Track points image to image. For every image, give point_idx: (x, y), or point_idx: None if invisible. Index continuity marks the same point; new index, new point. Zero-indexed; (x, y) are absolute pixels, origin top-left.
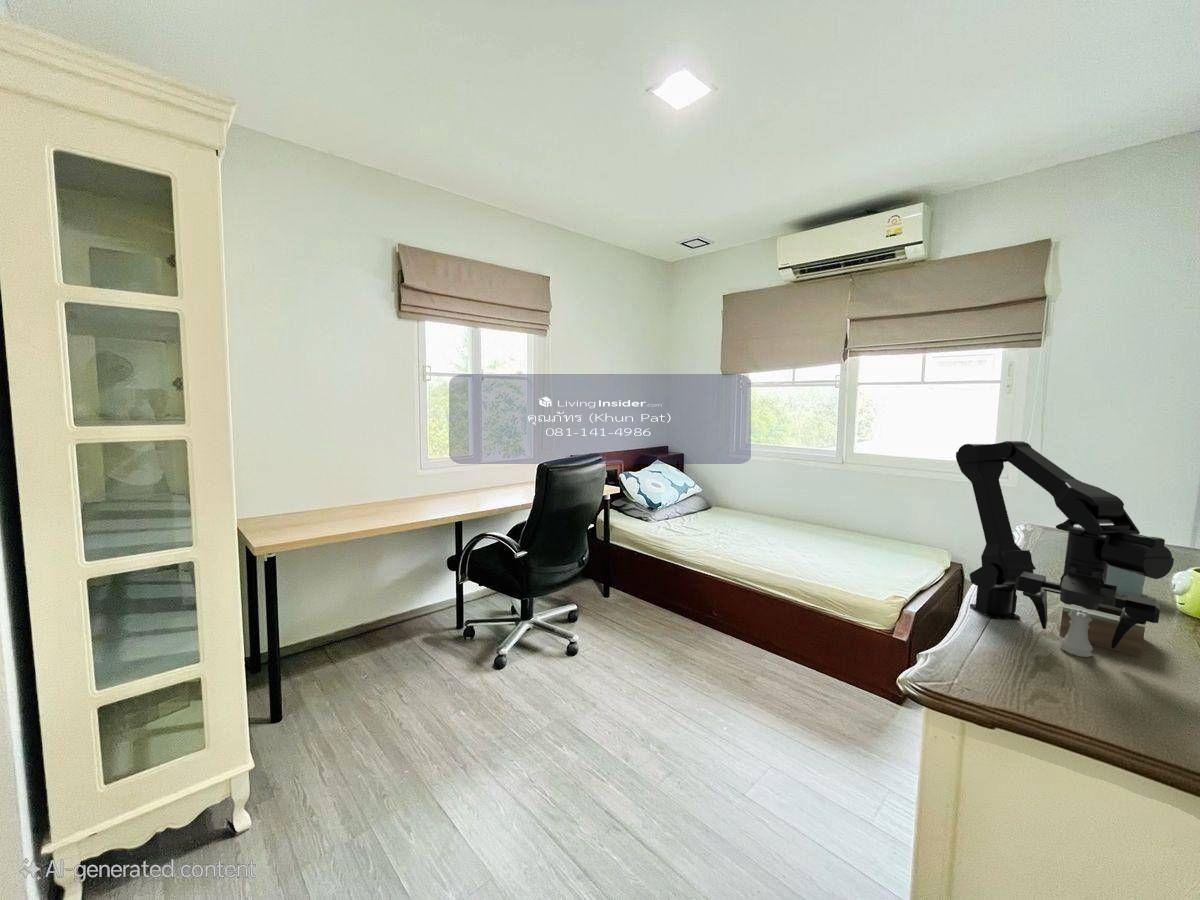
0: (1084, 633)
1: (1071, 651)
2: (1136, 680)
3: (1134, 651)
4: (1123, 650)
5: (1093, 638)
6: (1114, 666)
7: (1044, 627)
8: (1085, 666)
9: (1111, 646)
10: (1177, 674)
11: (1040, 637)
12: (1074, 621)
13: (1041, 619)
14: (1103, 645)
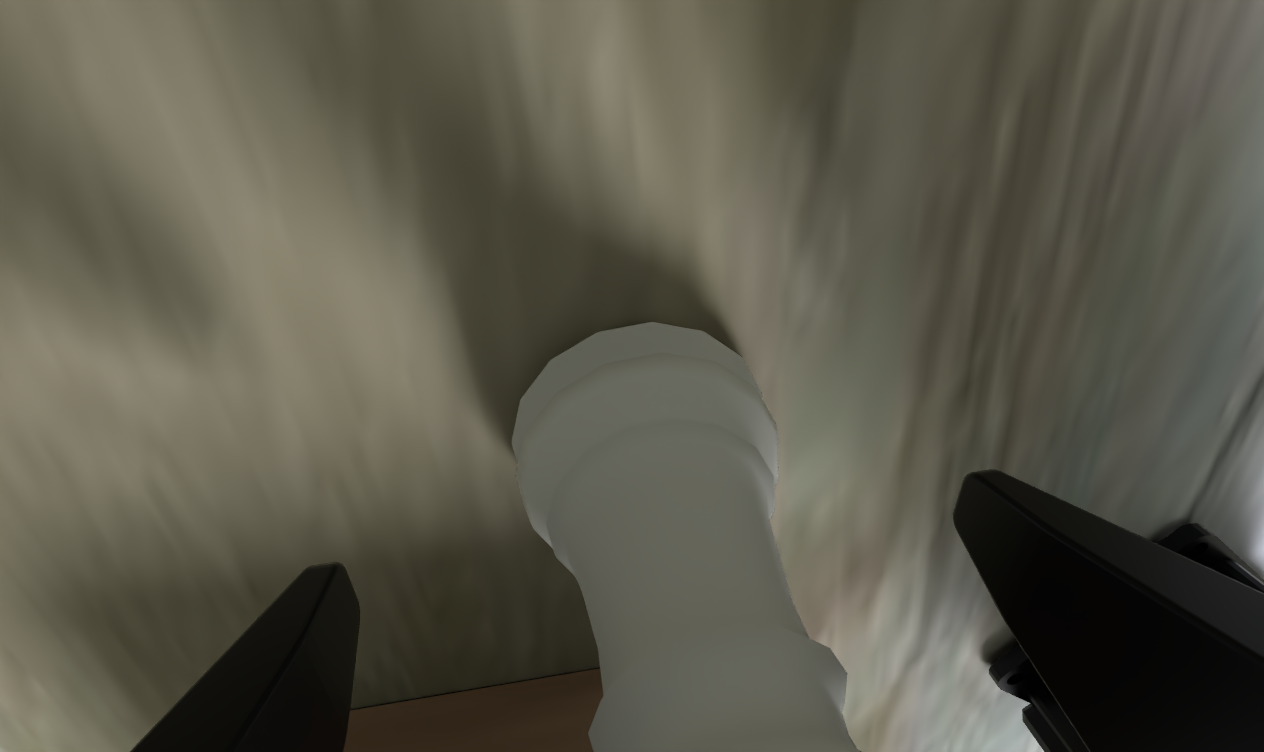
0: (621, 586)
1: (667, 336)
2: (15, 176)
3: None
4: (393, 720)
5: (576, 720)
6: (321, 384)
7: (995, 481)
8: (491, 79)
9: (329, 571)
10: (3, 659)
11: (886, 481)
12: (810, 716)
13: (1125, 544)
14: (511, 695)
